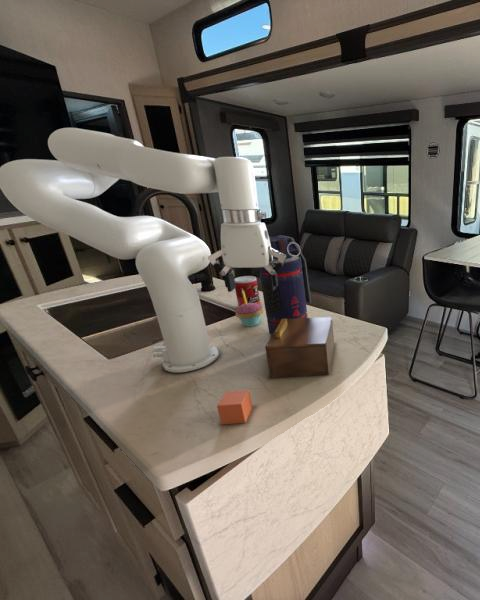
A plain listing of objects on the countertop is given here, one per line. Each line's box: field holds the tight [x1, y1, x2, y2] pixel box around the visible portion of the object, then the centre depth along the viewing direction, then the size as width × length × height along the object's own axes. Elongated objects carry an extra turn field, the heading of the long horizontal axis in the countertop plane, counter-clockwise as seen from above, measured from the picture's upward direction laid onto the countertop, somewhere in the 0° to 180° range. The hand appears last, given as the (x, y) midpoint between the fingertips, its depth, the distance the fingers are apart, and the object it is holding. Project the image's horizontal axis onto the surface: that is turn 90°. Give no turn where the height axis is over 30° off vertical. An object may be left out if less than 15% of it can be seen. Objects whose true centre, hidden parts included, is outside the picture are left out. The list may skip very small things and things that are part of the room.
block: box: [216, 389, 253, 425], centre depth 64 cm, size 4×4×4 cm
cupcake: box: [235, 289, 264, 327], centre depth 105 cm, size 9×8×12 cm
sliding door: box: [264, 316, 333, 350], centre depth 82 cm, size 14×16×2 cm
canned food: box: [234, 275, 261, 307], centre depth 120 cm, size 8×8×11 cm
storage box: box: [265, 321, 335, 379], centre depth 84 cm, size 14×16×8 cm
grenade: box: [258, 235, 312, 336], centre depth 96 cm, size 14×12×30 cm
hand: (252, 289), depth 77 cm, fingers open, 9 cm apart
